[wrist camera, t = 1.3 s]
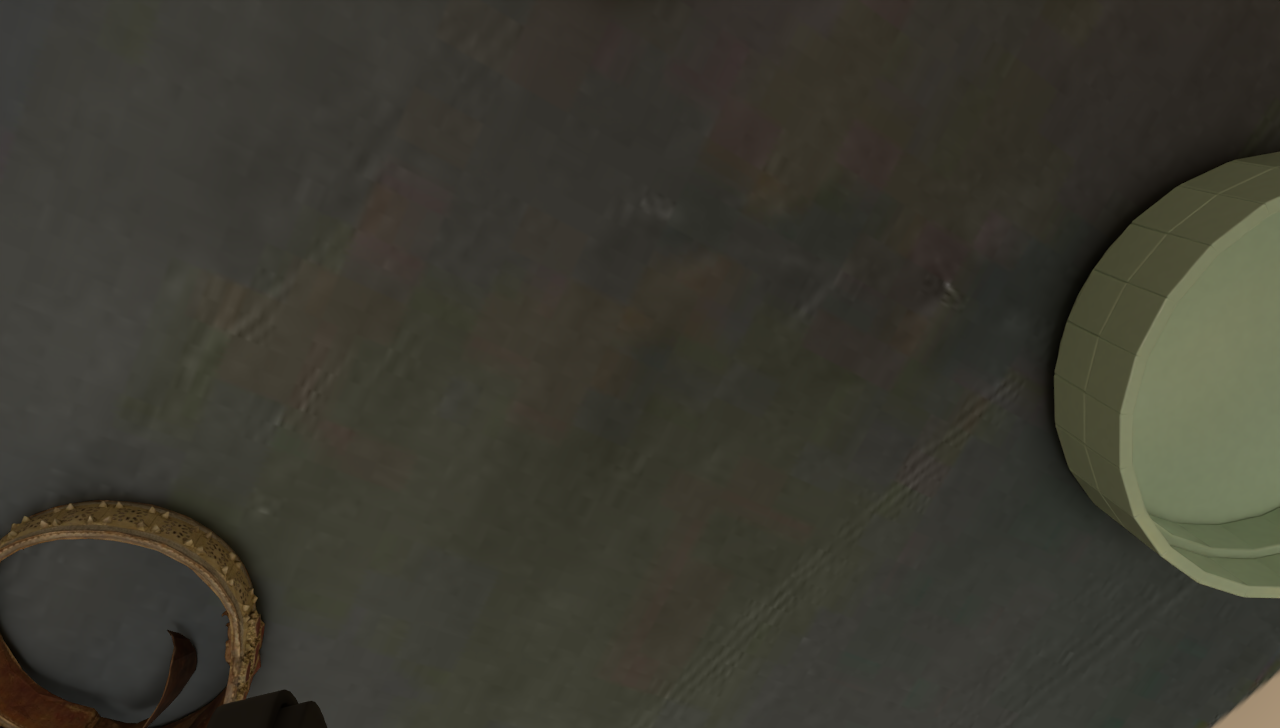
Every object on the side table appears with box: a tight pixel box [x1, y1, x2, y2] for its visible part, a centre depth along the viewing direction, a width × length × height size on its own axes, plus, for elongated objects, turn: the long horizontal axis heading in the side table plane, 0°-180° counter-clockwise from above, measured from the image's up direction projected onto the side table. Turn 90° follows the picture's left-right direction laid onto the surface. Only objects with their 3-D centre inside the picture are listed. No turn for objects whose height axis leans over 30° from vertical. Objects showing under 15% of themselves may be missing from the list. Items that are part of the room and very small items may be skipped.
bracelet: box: [0, 500, 265, 728], centre depth 28 cm, size 9×9×3 cm
